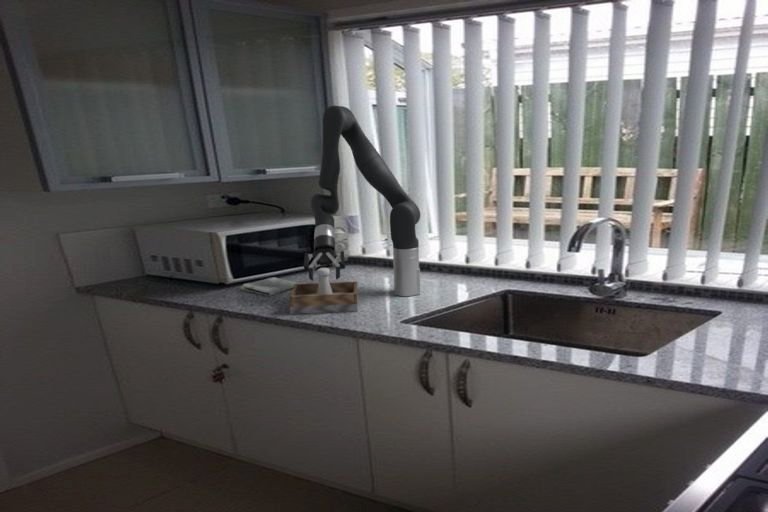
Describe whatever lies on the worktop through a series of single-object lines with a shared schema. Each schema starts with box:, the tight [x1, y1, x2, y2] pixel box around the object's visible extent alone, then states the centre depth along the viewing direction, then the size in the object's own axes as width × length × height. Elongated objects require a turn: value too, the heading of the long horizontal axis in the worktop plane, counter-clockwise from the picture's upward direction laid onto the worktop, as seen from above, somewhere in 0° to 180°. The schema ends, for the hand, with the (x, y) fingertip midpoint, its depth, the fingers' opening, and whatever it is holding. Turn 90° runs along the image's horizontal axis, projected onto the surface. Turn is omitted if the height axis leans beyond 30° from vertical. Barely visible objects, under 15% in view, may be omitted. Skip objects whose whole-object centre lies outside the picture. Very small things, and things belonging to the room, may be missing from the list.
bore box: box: [288, 281, 359, 315], centre depth 179 cm, size 22×16×6 cm
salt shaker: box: [316, 267, 333, 295], centre depth 179 cm, size 6×6×13 cm
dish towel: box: [240, 276, 303, 297], centre depth 205 cm, size 19×18×3 cm
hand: (324, 278), depth 178 cm, fingers open, 8 cm apart
